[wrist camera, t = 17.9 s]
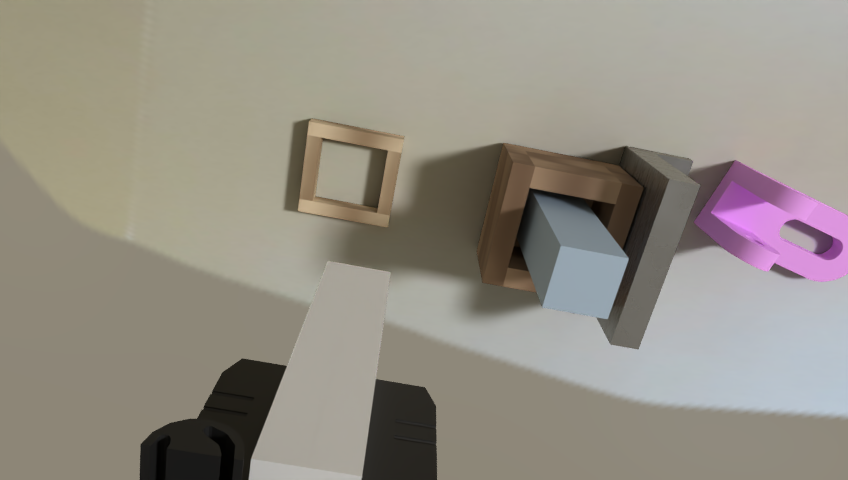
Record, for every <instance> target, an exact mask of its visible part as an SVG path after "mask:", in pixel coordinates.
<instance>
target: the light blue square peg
mask: <svg viewBox="0 0 848 480" xmlns="http://www.w3.org/2000/svg"><path fill="white" fill-rule="evenodd" d="M516 237H517V240H518V242H519V245H520V248H521V251H522V253H523V256H524V259H525V262H526V264H527V267H528V270H529V273H530V275H531V278H532V281H533V284H534V286H535V289H536V292H537V295H538V297H539V300H540V303H541V305H542V307H543V308H548V309H554V310H559V311H565V312H570V313H576V314H581V315H587V316H592V317H598V318H603V319H608V317H609V314H610V311H611V308H612V305H613V303H614V300H615V297H616V294H617V291H618V288H619V286H620V283H621V280H622V277H623V274H624V271H625V269H626V266H627V263H628V260H629V258H628V257H627V255H626V254H625V253H624V251H623V250H622V249H621V247H620V246H619V245H618V243H617V242H616V241H615V240H614V238H613V237H612V236H611V234H610V233H609V232H608V230H607V229H606V228H605V227H604V225H603V224H602V223H601V221H600V220H599V219H598V217H597V216H596V215H595V213H594V212H593V211H592V210H591V208H590V207H589V206H588V204H587V203H586V202H585V200H584V199H583V198H580V197H575V196H570V195H564V194H559V193H554V192H549V191H543V190H538V189H533V188H529V192H528V195H527V199H526V203H525V207H524V210H523V214H522V218H521V221H520V225H519V229H518V232H517V236H516Z"/></svg>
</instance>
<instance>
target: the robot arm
mask: <svg viewBox="0 0 848 480" xmlns="http://www.w3.org/2000/svg"><path fill="white" fill-rule="evenodd" d="M390 275H391V272H388V271H382V270H377V269H371V268H366V267H360V266H354V265H349V264H343V263H338V262H332V261H327V264H326V267H325V269H324V272H323V274H322V277H321V280H320V282H319V285H318V287H317V290H316V292H315V295H314V298H313V300H312V303H311V305H310V308H309V311H308V313H307V316H306V318H305V321H304V323H303V326H302V329H301V331H300V334H299V337H298V339H297V342H296V344H295V347H294V349H293V352H292V355H291V357H290V360H289V362H288V365H287V366H284V365H278V364H272V363H266V362H260V361H254V360H248V359H241V360H240V361H238V362H237V363H235V364H234V365H232V366H231V367H230V368H228V369H227V370H225V371H224V372H223V373H222V374H221V376H220V378H219V380H218V382H217V384H216V385H215V387H214V389H213V392H212V394H211V395H210V397H209V398H208V400H207V402H206V403H205V406H204V409H203V410H202V411H201V412H200V414H199V416H198V418H197V419H187V420H182V421H177V422H174V423H169V424H167V425H165V426H163V427H162V428H160V429H158V430H156V431H154V432H152V433H151V434H150V435H149V436H148V438H147V439H146V440H144V441H143V443H142V444H141V455H140V480H437V453H436V406H435V404H434V402H433V400H432V399H431V397H430V395H429V393H428V392H427V390H426V388H425V387H419V386H413V385H408V384H402V383H396V382H389V381H384V380H378V379H376V374H377V367H378V360H379V352H380V345H381V339H382V332H383V325H384V317H385V310H386V303H387V296H388V289H389V282H390Z"/></svg>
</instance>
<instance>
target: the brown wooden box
mask: <svg viewBox="0 0 848 480" xmlns="http://www.w3.org/2000/svg"><path fill="white" fill-rule="evenodd" d="M529 188H533V189H538V190H543V191H549V192H554V193H559V194H564V195H570V196H575V197H580V198H583V199H584V200H585V202H586V203H587V204H588V206H589V207H590V208H591V210H592V211H593V212H594V213H595V215H596V216H597V217H598V219H599V220H600V221H601V223H602V224H603V225H604V227H605V228H606V229H607V230H608V232H609V233H610V234H611V236H612V237H613V238H614V240H615V241H616V242H617V243H618V245H619V246H620V247H621V249H622V250H623V247H624V244H625V241H626V238H627V235H628V232H629V229H630V226H631V223H632V220H633V217H634V215H635V212H636V209H637V206H638V203H639V200H640V197H641V194H642V191H643V188H644V187H643V186H641V185H640V184H639V183H638V182H637V181H636V180H635V179H634V178H632V177H631V176H630V175H629V174H628V173H627V172H626V171H624V170H623V169H622V168H621V167H620V166H619V165H614V164H609V163H604V162H599V161H594V160H589V159H583V158H578V157H573V156H568V155H563V154H558V153H553V152H548V151H543V150H538V149H533V148H527V147H522V146H517V145H512V144H507V143H503V146H502V150H501V155H500V159H499V163H498V167H497V171H496V175H495V179H494V183H493V187H492V191H491V195H490V199H489V203H488V207H487V211H486V215H485V219H484V223H483V228H482V232H481V236H480V240H479V244H478V248H477V256H478V261H479V267H480V272H481V277H482V283H487V284H492V285H498V286H503V287H509V288H515V289H520V290H526V291H531V292H536V289H535V286H534V284H533V281H532V278H531V275H530V273H529V270H528V267H527V264H526V262H525V259H524V256H523V253H522V251H521V248H520V245H519V242H518V240H517V237H516V236H517V232H518V229H519V225H520V221H521V218H522V214H523V210H524V207H525V203H526V199H527V195H528V192H529Z"/></svg>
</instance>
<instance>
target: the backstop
mask: <svg viewBox="0 0 848 480" xmlns="http://www.w3.org/2000/svg"><path fill="white" fill-rule="evenodd" d="M692 163H693V161H692V160H690V159H689V158H684V157H679V156H673V155H668V154H663V153H658V152H653V151H648V150H643V149H638V148H633V147H628V146H626V147H625V150H624V153H623V156H622V159H621V162H620V165H619V166H620V167H621V168H622V169H623V170H624V171H626V172H627V173H628V174H629V175H630V176H631V177H632V178H634V179H635V180H636V181H637V182H638V183H639V184H640V185H641V186H643V187H644V188H643V191H642V194H641V197H640V200H639V203H638V206H637V209H636V212H635V215H634V217H633V220H632V223H631V226H630V229H629V232H628V235H627V238H626V241H625V244H624V247H623V251H624V253H625V254H626V255H627V257H628V258H629V260H628V263H627V266H626V269H625V271H624V274H623V277H622V280H621V283H620V286H619V288H618V291H617V294H616V297H615V300H614V303H613V305H612V308H611V311H610V314H609V317H608V319H603V318H598V317H596V318H597V320H598V321H599V323H600V325H601V327H602V329H603V331H604V333H605V335H606V337H607V339H608V341H609V343H610V344H611V345H617V346H622V347H628V348H634V349H639V346H640V344H641V341H642V338H643V336H644V333H645V330H646V328H647V325H648V322H649V320H650V317H651V315H652V312H653V309H654V307H655V304H656V301H657V299H658V296H659V293H660V291H661V288H662V286H663V283H664V280H665V278H666V275H667V272H668V270H669V267H670V264H671V262H672V259H673V256H674V254H675V251H676V249H677V246H678V243H679V241H680V238H681V235H682V233H683V230H684V227H685V225H686V222H687V220H688V217H689V214H690V212H691V209H692V206H693V204H694V201H695V198H696V196H697V193H698V191H699V188H700V184H698V183H697V182H695V181H694V180H692V179H691V178H689V177H688V174H689V171H690V169H691V166H692Z"/></svg>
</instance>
